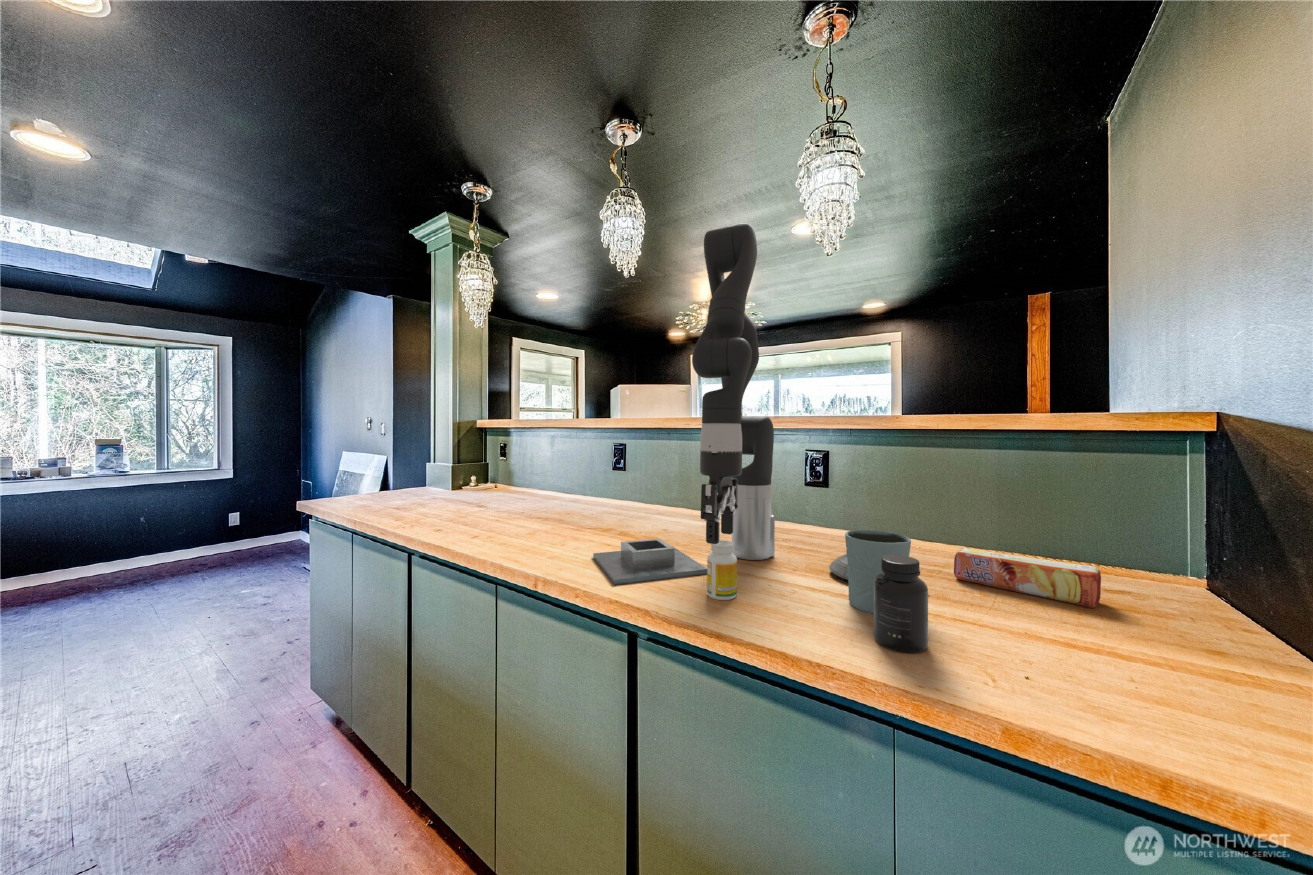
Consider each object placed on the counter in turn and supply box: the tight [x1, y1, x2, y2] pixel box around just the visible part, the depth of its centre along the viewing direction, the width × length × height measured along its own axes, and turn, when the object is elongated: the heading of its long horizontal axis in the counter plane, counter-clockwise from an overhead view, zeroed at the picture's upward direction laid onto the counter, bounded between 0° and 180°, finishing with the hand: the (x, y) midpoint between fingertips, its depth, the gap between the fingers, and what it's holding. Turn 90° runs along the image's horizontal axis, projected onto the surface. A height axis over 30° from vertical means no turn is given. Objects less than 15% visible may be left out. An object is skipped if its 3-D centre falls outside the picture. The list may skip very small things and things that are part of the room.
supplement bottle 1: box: [706, 540, 738, 601], centre depth 83 cm, size 5×5×10 cm
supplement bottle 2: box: [873, 555, 929, 654], centre depth 65 cm, size 7×7×12 cm
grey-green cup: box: [844, 529, 912, 615], centre depth 79 cm, size 10×10×12 cm
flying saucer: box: [828, 553, 849, 581], centre depth 93 cm, size 15×15×6 cm
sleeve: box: [592, 538, 707, 586], centre depth 101 cm, size 20×20×4 cm
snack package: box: [953, 547, 1102, 609], centre depth 86 cm, size 21×7×7 cm, turn 42°
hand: (720, 538), depth 83 cm, fingers open, 8 cm apart
